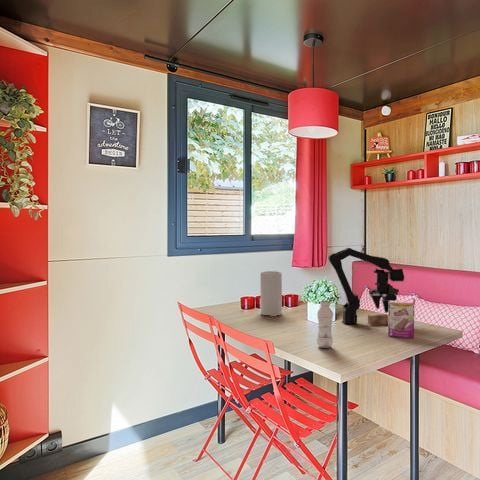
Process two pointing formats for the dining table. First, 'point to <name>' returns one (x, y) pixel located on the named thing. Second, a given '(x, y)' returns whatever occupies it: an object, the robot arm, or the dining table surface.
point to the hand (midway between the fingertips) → (382, 310)
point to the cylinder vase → (271, 293)
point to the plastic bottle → (325, 325)
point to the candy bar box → (401, 319)
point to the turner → (378, 319)
